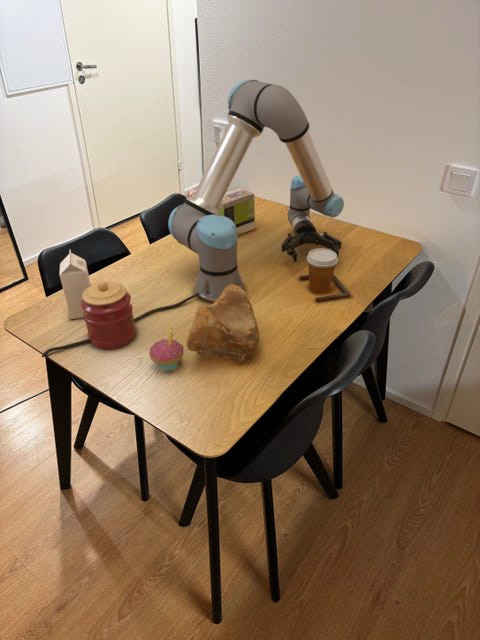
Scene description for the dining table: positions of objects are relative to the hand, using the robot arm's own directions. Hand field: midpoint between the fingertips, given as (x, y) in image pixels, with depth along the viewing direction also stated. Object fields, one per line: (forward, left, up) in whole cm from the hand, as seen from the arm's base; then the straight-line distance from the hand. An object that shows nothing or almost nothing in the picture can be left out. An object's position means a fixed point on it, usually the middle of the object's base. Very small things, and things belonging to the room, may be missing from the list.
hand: (316, 257), depth 158 cm
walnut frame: (0, -7, -7) cm, 10 cm away
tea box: (-17, +43, -8) cm, 47 cm away
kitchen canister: (-66, -14, -8) cm, 68 cm away
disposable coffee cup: (-1, -7, -8) cm, 10 cm away
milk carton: (-74, +1, -8) cm, 75 cm away
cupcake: (-53, -31, -8) cm, 62 cm away
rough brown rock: (-36, -29, -8) cm, 47 cm away
